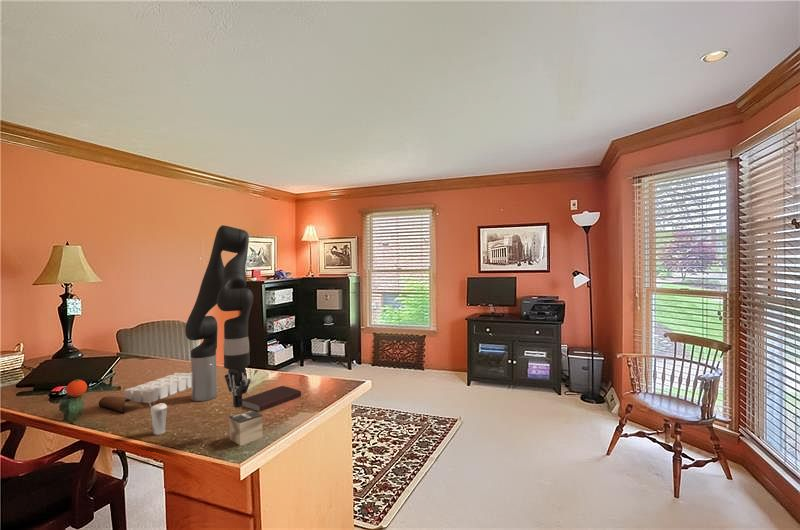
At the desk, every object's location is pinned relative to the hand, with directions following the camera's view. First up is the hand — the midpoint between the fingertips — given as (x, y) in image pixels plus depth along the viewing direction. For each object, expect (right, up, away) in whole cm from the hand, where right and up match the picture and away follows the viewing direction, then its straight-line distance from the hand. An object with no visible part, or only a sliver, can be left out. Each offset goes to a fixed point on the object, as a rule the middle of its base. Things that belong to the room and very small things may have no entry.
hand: (237, 406), depth 122 cm
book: (+1, -10, +30) cm, 31 cm away
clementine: (-87, -12, +43) cm, 97 cm away
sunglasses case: (-57, -11, +27) cm, 64 cm away
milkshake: (-26, -9, +2) cm, 28 cm away
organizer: (-50, -11, +50) cm, 71 cm away
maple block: (+4, -2, -4) cm, 6 cm away
